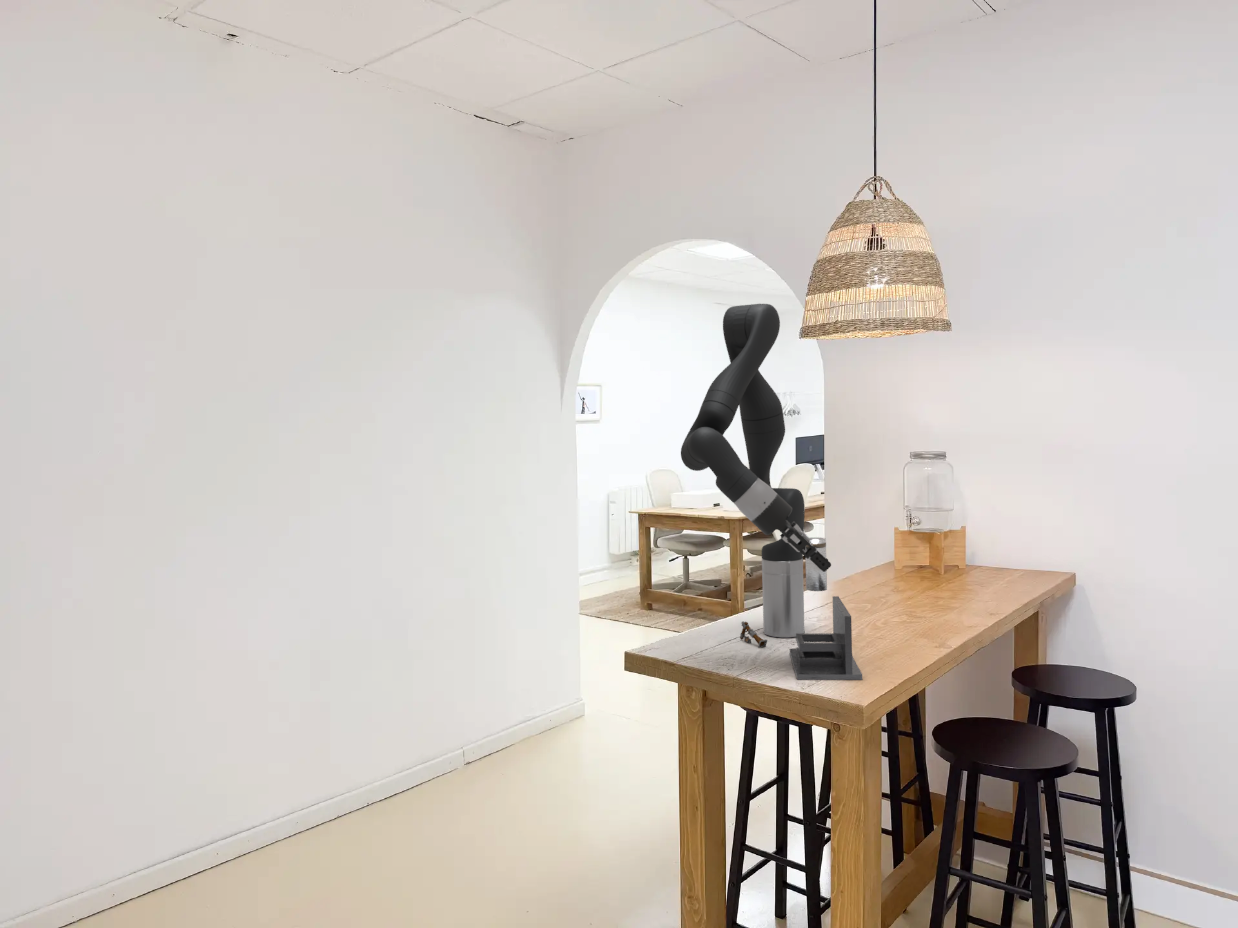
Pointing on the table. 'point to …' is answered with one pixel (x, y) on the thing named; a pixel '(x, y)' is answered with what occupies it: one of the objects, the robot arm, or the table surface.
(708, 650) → the table surface
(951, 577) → the table surface
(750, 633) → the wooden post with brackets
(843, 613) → the collar stand
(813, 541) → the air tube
